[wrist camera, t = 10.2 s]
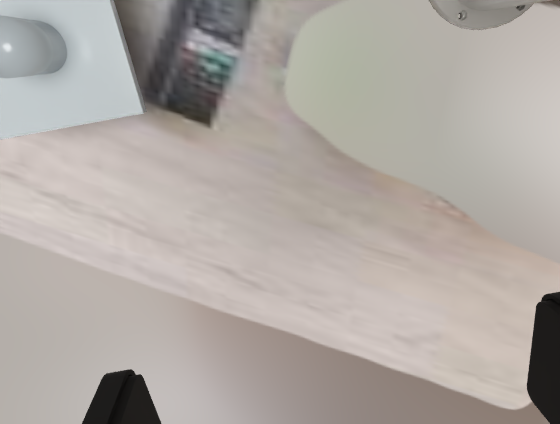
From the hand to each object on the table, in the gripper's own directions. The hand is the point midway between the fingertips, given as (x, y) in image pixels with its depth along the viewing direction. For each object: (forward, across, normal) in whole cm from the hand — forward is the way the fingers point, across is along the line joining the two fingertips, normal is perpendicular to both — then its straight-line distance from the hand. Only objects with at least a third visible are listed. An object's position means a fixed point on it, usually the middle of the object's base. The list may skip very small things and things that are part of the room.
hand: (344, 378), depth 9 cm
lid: (+25, +15, -10) cm, 30 cm away
